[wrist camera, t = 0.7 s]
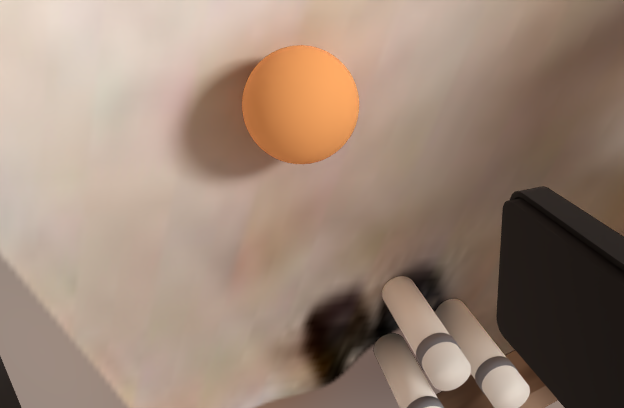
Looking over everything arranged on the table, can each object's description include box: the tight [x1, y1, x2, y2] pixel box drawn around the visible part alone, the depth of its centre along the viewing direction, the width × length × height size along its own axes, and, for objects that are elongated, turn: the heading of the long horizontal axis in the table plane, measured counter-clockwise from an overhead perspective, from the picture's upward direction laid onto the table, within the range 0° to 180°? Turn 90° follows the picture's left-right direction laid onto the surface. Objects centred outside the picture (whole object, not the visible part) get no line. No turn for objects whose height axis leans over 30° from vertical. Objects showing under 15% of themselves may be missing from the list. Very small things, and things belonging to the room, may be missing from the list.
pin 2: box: [435, 299, 530, 408], centre depth 38 cm, size 2×2×8 cm
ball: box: [242, 45, 359, 164], centre depth 30 cm, size 6×6×6 cm
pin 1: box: [373, 333, 444, 408], centre depth 38 cm, size 2×2×8 cm
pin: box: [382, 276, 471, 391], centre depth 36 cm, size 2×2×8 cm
